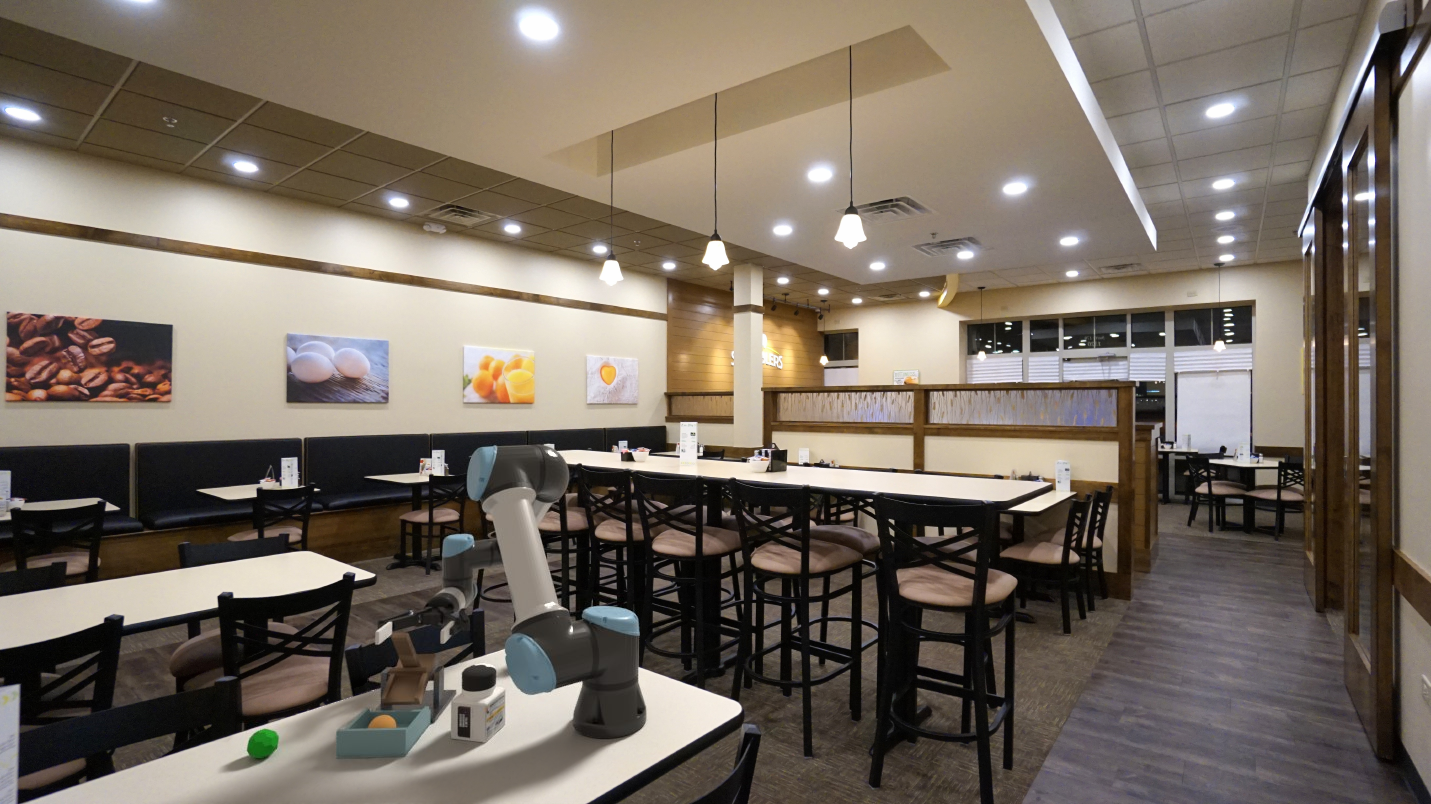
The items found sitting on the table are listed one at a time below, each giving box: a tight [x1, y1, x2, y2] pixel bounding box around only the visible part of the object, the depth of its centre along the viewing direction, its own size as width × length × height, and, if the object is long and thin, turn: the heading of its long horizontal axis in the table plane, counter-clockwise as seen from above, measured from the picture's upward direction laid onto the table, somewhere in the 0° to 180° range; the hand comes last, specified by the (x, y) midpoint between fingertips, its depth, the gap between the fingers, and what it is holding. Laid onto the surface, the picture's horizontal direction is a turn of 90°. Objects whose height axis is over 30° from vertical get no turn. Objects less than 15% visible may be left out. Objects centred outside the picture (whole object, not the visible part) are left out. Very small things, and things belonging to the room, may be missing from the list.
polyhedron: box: [246, 728, 280, 760], centre depth 123 cm, size 5×5×5 cm
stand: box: [374, 665, 457, 724], centre depth 143 cm, size 14×14×8 cm
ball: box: [368, 715, 396, 728], centre depth 127 cm, size 5×5×5 cm
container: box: [450, 662, 506, 743], centre depth 133 cm, size 8×8×13 cm
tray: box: [335, 706, 431, 759], centre depth 129 cm, size 13×13×5 cm
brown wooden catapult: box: [380, 632, 440, 705], centre depth 139 cm, size 12×9×17 cm
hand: (409, 637), depth 141 cm, fingers open, 13 cm apart
